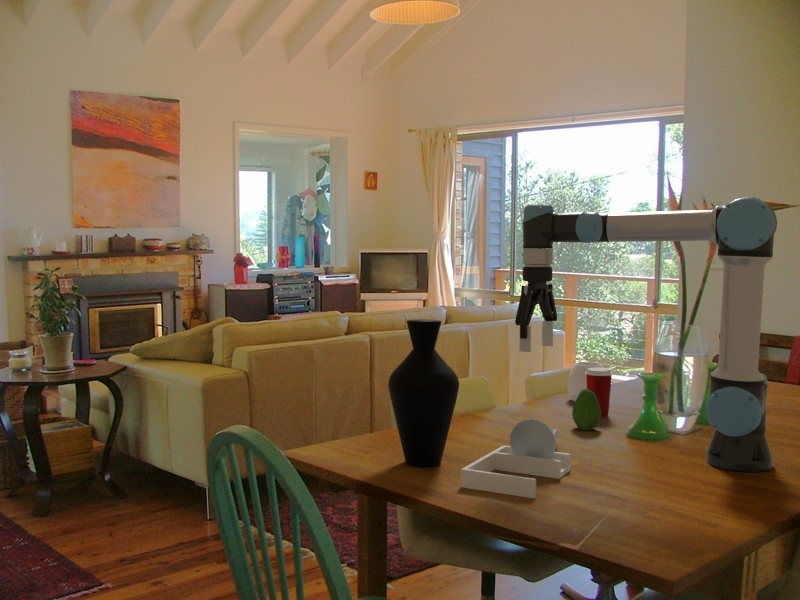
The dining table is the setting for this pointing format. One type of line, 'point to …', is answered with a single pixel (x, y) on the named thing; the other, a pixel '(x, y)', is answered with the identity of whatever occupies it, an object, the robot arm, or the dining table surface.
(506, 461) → the dish rack
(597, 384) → the coffee cup
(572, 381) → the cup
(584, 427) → the fruit
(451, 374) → the vase
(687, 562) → the dining table surface
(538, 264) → the robot arm
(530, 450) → the grey plate
